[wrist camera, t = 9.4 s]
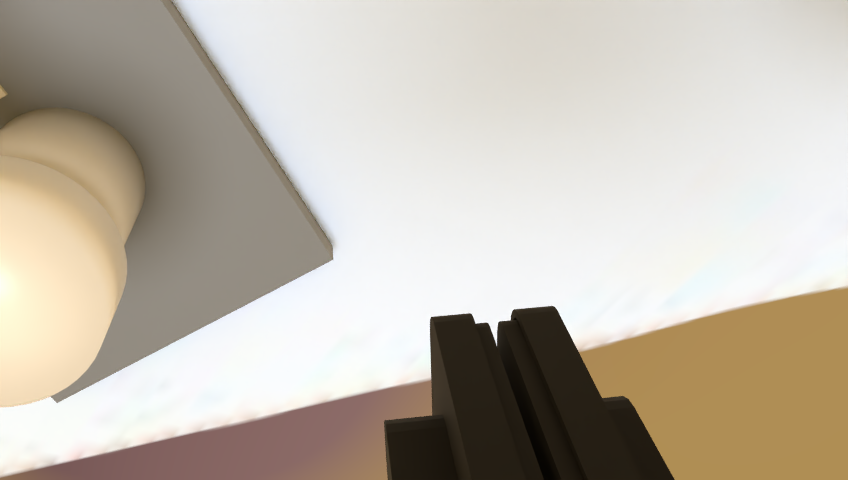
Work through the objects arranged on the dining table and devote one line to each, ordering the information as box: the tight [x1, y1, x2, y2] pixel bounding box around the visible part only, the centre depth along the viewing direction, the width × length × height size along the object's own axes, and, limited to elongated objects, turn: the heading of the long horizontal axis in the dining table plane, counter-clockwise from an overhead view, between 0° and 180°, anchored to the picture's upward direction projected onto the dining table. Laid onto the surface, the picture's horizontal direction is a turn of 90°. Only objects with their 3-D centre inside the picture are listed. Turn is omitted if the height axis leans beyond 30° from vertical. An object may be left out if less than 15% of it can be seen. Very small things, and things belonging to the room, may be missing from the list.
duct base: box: [0, 0, 333, 403], centre depth 34 cm, size 17×20×9 cm
